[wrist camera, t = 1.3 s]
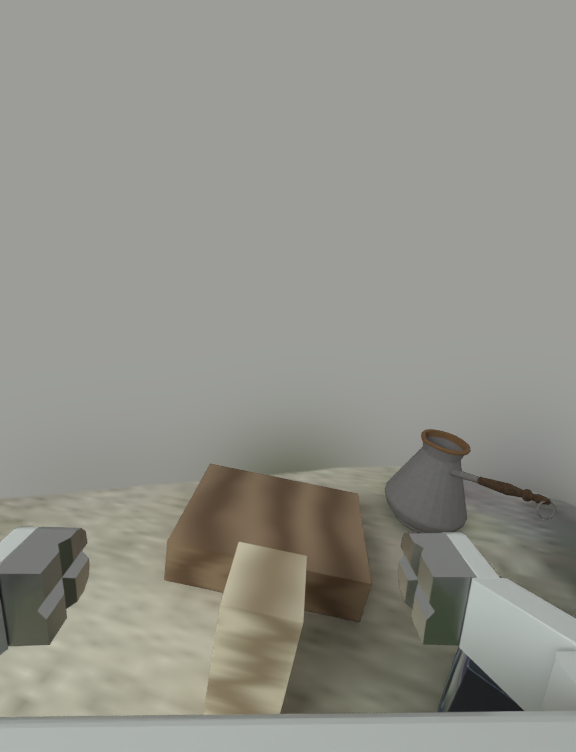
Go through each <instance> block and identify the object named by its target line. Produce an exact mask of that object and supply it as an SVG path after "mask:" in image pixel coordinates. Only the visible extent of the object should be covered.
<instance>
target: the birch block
mask: <svg viewBox="0 0 576 752" xmlns="http://www.w3.org/2000/svg"><path fill="white" fill-rule="evenodd" d="M306 564H307V556H305V555H300V554H295V553H290V552H286V551H281V550H276V549H271V548H267V547H262V546H257V545H252V544H248V543H243V542H239V543H238V546H237V549H236V553H235V556H234V559H233V563H232V566H231V569H230V573H229V576H228V580H227V583H226V586H225V590H224V593H223V596H222V600H221V603H220V608H219V615H218V622H217V628H216V635H215V642H214V648H213V655H212V661H211V668H210V675H209V681H208V688H207V694H206V701H205V708H204V714H203V715H222V714H280V712H281V708H282V704H283V700H284V697H285V693H286V689H287V685H288V681H289V677H290V673H291V669H292V665H293V661H294V657H295V654H296V650H297V646H298V642H299V638H300V634H301V630H302V626H303V621H304V602H305V583H306Z"/></svg>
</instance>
